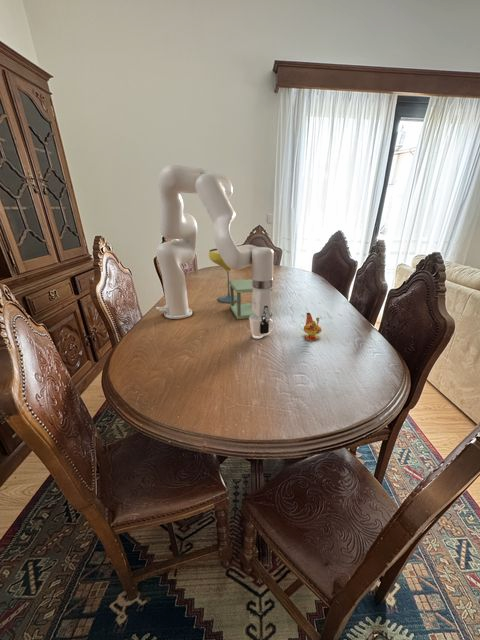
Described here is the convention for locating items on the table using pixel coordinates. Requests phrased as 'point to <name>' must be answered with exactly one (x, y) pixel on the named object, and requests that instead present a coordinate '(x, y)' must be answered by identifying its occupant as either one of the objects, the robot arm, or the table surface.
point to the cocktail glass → (218, 260)
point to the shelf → (242, 289)
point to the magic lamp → (312, 328)
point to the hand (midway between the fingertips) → (261, 329)
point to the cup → (257, 326)
